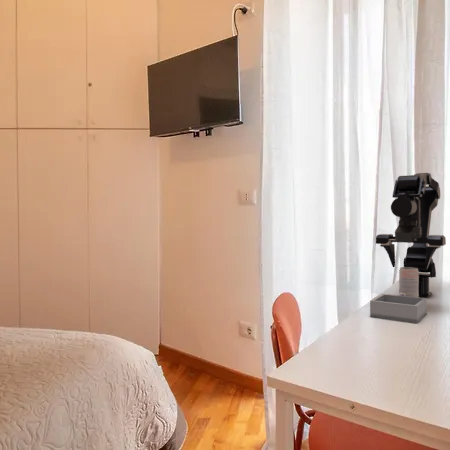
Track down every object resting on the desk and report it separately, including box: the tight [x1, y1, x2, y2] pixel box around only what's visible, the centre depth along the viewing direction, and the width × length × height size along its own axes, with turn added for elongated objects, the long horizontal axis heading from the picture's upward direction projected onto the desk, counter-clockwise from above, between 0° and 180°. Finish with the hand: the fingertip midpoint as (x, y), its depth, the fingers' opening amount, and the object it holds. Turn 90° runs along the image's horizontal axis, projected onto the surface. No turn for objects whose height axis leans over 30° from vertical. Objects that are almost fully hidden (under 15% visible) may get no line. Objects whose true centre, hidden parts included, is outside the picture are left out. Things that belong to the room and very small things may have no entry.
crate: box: [369, 293, 428, 324], centre depth 113 cm, size 12×12×4 cm
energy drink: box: [398, 266, 420, 298], centre depth 123 cm, size 5×5×12 cm
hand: (409, 268), depth 123 cm, fingers open, 9 cm apart
